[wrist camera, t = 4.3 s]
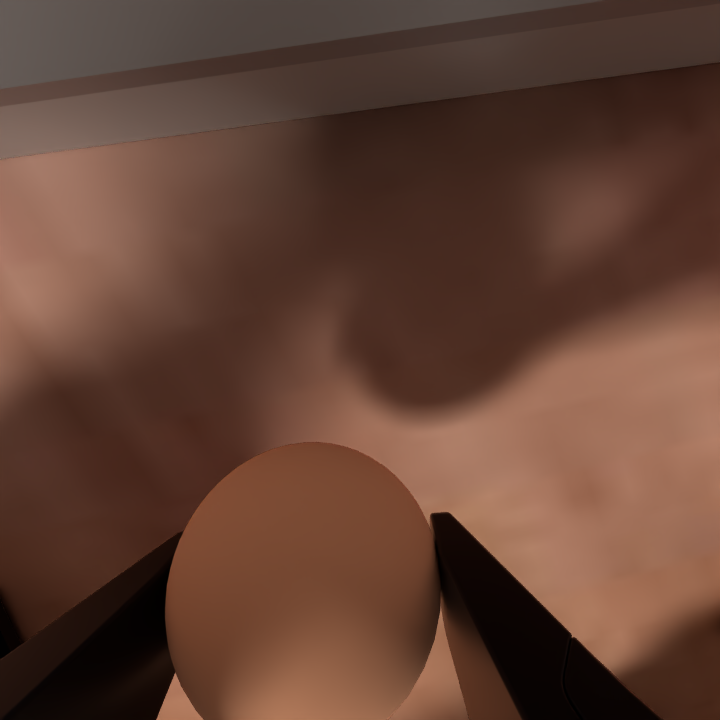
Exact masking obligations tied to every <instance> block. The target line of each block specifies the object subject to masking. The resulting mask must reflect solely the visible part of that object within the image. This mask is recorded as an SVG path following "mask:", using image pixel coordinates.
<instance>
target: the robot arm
mask: <svg viewBox="0 0 720 720" xmlns="http://www.w3.org/2000/svg"><path fill="white" fill-rule="evenodd" d="M430 530H431V533H432V537H433V540H434V543H435V546H436V550H437V555H438V562H439V570H440V577H441V601H440V603H441V609H442V615H443V621H444V626H445V631H446V636H447V640H448V644H449V648H450V651H451V655H452V658H453V662H454V666H455V669H456V673H457V676H458V680H459V684H460V687H461V691H462V695H463V698H464V702H465V705H466V709H467V713H468V716H469V720H663V719H662V718H661V717H660V716H659V715H658V714H656V713H655V712H654V711H653V710H652V709H651V708H650V707H649V706H647V705H646V704H645V703H644V702H643V701H642V700H641V699H639V698H638V697H637V696H636V695H635V694H634V693H633V692H632V691H630V690H629V689H628V688H627V687H626V686H625V685H624V684H623V683H622V682H621V681H620V680H619V679H618V678H616V677H615V676H614V675H613V674H612V673H611V672H610V671H609V670H608V669H607V668H606V667H605V666H604V665H603V664H602V663H601V662H600V661H599V660H598V659H597V658H595V657H594V656H593V655H592V654H591V653H590V652H589V651H588V650H587V649H586V648H585V647H584V646H583V645H582V644H581V643H580V642H579V641H578V640H577V639H576V638H575V637H572V635H571V633H570V632H569V631H568V630H567V629H566V628H565V627H564V626H563V625H562V624H561V623H560V622H559V621H558V620H557V619H556V618H555V617H554V616H553V615H552V614H551V613H550V612H549V611H548V610H547V609H546V608H545V607H544V606H543V605H542V604H541V603H540V602H539V601H538V600H537V599H536V598H535V597H534V596H533V595H532V594H531V593H530V592H529V591H528V590H527V589H526V588H525V587H524V586H523V585H522V584H521V583H520V582H519V581H518V580H517V579H516V578H515V577H514V576H513V575H512V574H511V573H510V572H509V571H508V570H507V569H506V568H505V567H504V566H503V565H502V564H501V563H500V562H499V561H498V560H497V559H496V558H495V557H494V556H493V555H492V554H491V553H490V552H489V551H488V550H487V549H486V548H485V547H484V546H483V545H482V544H481V543H480V542H479V541H478V540H477V539H476V538H475V537H474V536H473V535H472V534H471V533H470V532H469V531H468V530H467V529H466V528H465V527H464V526H463V525H461V524H460V523H459V522H458V521H457V520H456V519H455V518H454V517H453V516H452V515H451V514H450V513H448V512H440V513H432V514H431V515H430ZM183 532H184V531H182V532H179V533H177V534H176V535H175V536H173V537H172V538H170V539H169V540H168V541H166V542H165V543H163V544H162V545H161V546H159V547H158V548H156V549H155V550H154V551H152V552H151V553H149V554H148V555H147V556H145V557H144V558H142V559H141V560H140V561H138V562H137V563H135V564H134V565H132V566H131V567H130V568H128V569H127V570H125V571H124V572H123V573H121V574H120V575H118V576H117V577H116V578H114V579H113V580H111V581H110V582H109V583H107V584H106V585H104V586H103V587H102V588H100V589H99V590H97V591H96V592H95V593H93V594H92V595H90V596H89V597H88V598H86V599H85V600H83V601H82V602H81V603H79V604H78V605H76V606H75V607H73V608H72V609H71V610H69V611H68V612H66V613H65V614H64V615H62V616H61V617H59V618H58V619H57V620H55V621H54V622H52V623H51V624H50V625H48V626H47V627H45V628H44V629H43V630H41V631H40V632H38V633H37V634H36V635H34V636H33V637H31V638H30V639H29V640H27V641H26V642H24V643H23V644H22V645H21V643H20V641H19V639H18V637H17V635H16V633H15V631H14V628H13V626H12V624H11V622H10V620H9V618H8V616H7V614H6V611H5V609H4V607H3V605H2V603H1V601H0V720H156V719H157V716H158V714H159V711H160V709H161V706H162V704H163V701H164V699H165V696H166V694H167V691H168V689H169V686H170V684H171V682H172V679H173V677H174V674H175V669H174V666H173V663H172V660H171V656H170V652H169V648H168V641H167V634H166V624H165V601H166V590H167V583H168V578H169V573H170V568H171V565H172V561H173V557H174V554H175V551H176V549H177V546H178V543H179V541H180V538H181V536H182V534H183Z"/></svg>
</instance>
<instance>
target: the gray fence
mask: <svg viewBox="0 0 720 720" xmlns="http://www.w3.org/2000/svg"><path fill="white" fill-rule="evenodd" d="M718 62H720V0H0V159H6V158H14V157H21V156H28V155H36V154H43V153H51V152H58V151H65V150H73V149H80V148H88V147H95V146H103V145H110V144H117V143H125V142H132V141H140V140H147V139H154V138H162V137H169V136H177V135H184V134H191V133H199V132H206V131H214V130H221V129H229V128H236V127H243V126H251V125H258V124H266V123H273V122H280V121H288V120H295V119H303V118H310V117H317V116H325V115H332V114H340V113H347V112H355V111H362V110H369V109H377V108H384V107H392V106H399V105H406V104H414V103H421V102H429V101H436V100H443V99H451V98H458V97H466V96H473V95H481V94H488V93H495V92H503V91H510V90H518V89H525V88H532V87H540V86H547V85H555V84H562V83H569V82H577V81H584V80H592V79H599V78H607V77H614V76H621V75H629V74H636V73H644V72H651V71H658V70H666V69H673V68H681V67H688V66H695V65H703V64H710V63H718Z"/></svg>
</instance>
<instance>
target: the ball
mask: <svg viewBox="0 0 720 720" xmlns="http://www.w3.org/2000/svg"><path fill="white" fill-rule="evenodd" d="M440 601H441V577H440V570H439V562H438V555H437V550H436V546H435V543H434V540H433V537H432V533H431V530H430V527H429V525H428V523H427V521H426V519H425V516H424V514H423V512H422V511H421V509H420V507H419V505H418V503H417V502H416V500H415V499H414V497H413V496H412V494H411V493H410V491H409V490H408V489H407V488H406V487H405V486H404V484H403V483H402V482H401V481H400V480H399V479H398V478H397V477H396V476H395V475H394V474H393V473H392V472H391V471H389V470H388V469H387V468H386V467H385V466H383V465H382V464H380V463H378V462H377V461H375V460H374V459H372V458H371V457H369V456H367V455H365V454H363V453H361V452H359V451H356V450H354V449H351V448H348V447H345V446H340V445H336V444H331V443H321V442H304V443H297V444H290V445H285V446H281V447H278V448H274V449H271V450H269V451H266V452H264V453H261V454H259V455H257V456H255V457H253V458H251V459H250V460H248V461H246V462H245V463H243V464H241V465H239V466H238V467H237V468H236V469H234V470H233V471H232V472H230V473H229V474H228V475H227V476H226V477H224V478H223V479H222V480H221V481H220V482H219V483H218V484H217V485H216V486H215V487H214V488H213V489H212V490H211V491H210V492H209V493H208V495H207V496H206V497H205V498H204V500H203V501H202V502H201V503H200V505H199V506H198V508H197V509H196V511H195V512H194V514H193V515H192V517H191V519H190V521H189V522H188V524H187V526H186V528H185V530H184V532H183V534H182V536H181V538H180V541H179V543H178V546H177V549H176V551H175V554H174V557H173V561H172V565H171V568H170V573H169V578H168V583H167V590H166V601H165V624H166V634H167V641H168V648H169V652H170V656H171V660H172V663H173V666H174V669H175V672H176V674H177V677H178V679H179V682H180V684H181V687H182V688H183V690H184V692H185V693H186V695H187V697H188V698H189V700H190V701H191V703H192V705H193V706H194V708H195V710H196V711H197V712H198V713H199V715H200V716H201V717H202V718H203V719H204V720H388V719H389V718H390V717H391V716H392V715H393V713H394V712H395V711H396V710H397V709H398V707H399V706H400V705H401V704H402V703H403V701H404V700H405V699H406V698H407V696H408V695H409V694H410V692H411V690H412V688H413V687H414V685H415V683H416V681H417V680H418V678H419V676H420V674H421V673H422V671H423V669H424V667H425V664H426V661H427V659H428V656H429V653H430V651H431V648H432V645H433V642H434V640H435V634H436V629H437V624H438V619H439V613H440Z"/></svg>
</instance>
